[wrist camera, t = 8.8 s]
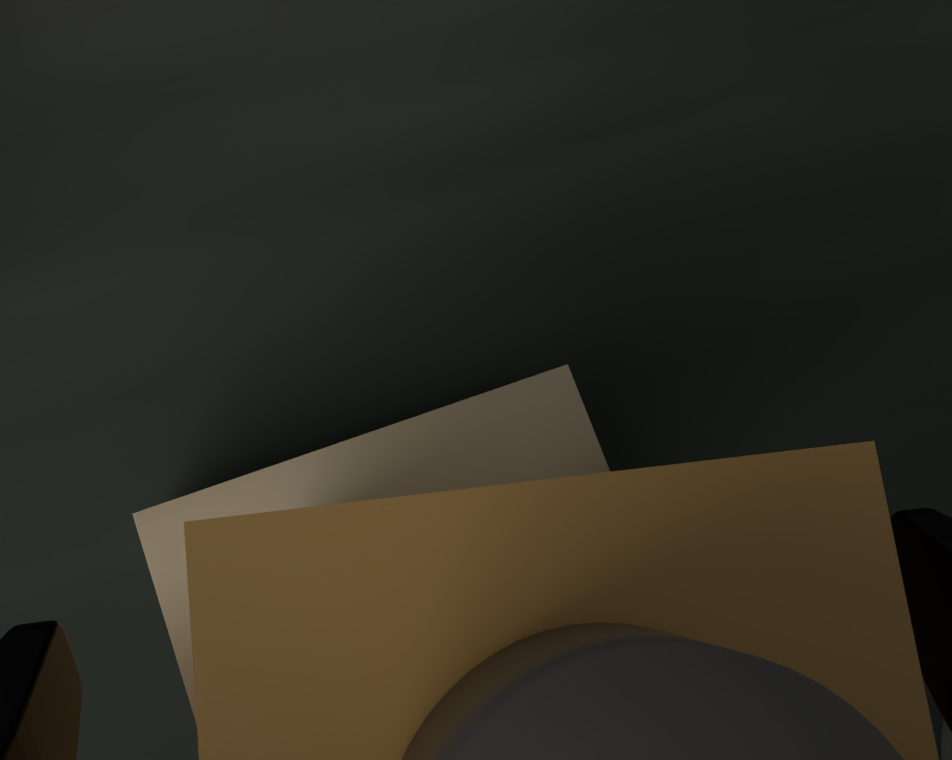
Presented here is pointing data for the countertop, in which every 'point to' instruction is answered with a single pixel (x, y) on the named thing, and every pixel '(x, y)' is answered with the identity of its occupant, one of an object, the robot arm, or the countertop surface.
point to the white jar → (946, 742)
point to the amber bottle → (567, 620)
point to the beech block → (386, 474)
